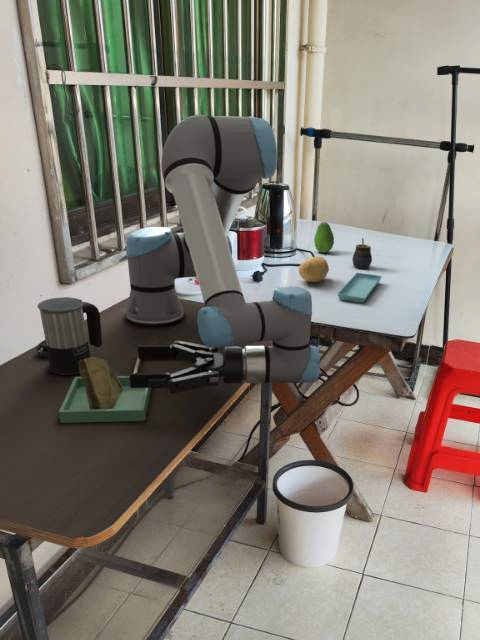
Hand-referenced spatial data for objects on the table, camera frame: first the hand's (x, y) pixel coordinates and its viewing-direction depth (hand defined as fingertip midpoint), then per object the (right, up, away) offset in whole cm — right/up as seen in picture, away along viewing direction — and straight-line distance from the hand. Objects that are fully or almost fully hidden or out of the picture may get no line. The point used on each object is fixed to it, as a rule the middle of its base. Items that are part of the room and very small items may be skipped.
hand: (134, 365), depth 116 cm
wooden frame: (+2, +1, +18) cm, 18 cm away
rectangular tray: (+50, +33, +80) cm, 100 cm away
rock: (-6, -7, +3) cm, 10 cm away
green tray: (-6, -7, +3) cm, 10 cm away
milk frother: (-22, +3, +19) cm, 29 cm away
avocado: (+38, +58, +123) cm, 141 cm away
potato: (+34, +38, +87) cm, 101 cm away
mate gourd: (+52, +48, +107) cm, 128 cm away
